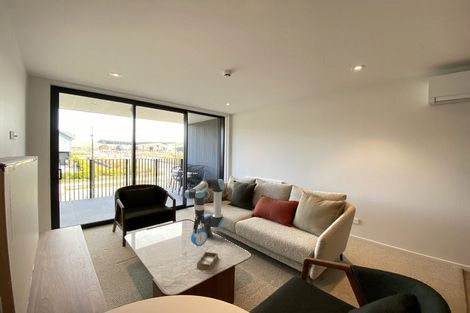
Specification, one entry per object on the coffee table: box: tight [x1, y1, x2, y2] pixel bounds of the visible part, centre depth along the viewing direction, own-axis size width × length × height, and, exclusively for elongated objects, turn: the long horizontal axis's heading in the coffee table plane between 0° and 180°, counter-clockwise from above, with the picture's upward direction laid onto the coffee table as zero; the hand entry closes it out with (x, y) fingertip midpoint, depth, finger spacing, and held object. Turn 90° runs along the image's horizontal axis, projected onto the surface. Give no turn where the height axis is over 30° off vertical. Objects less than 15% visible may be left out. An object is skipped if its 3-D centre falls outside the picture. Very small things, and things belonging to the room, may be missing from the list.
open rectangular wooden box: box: [196, 251, 219, 271], centre depth 168 cm, size 19×12×4 cm, turn 168°
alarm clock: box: [190, 227, 208, 247], centre depth 169 cm, size 13×6×15 cm, turn 133°
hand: (199, 233), depth 169 cm, fingers closed on alarm clock, 13 cm apart
